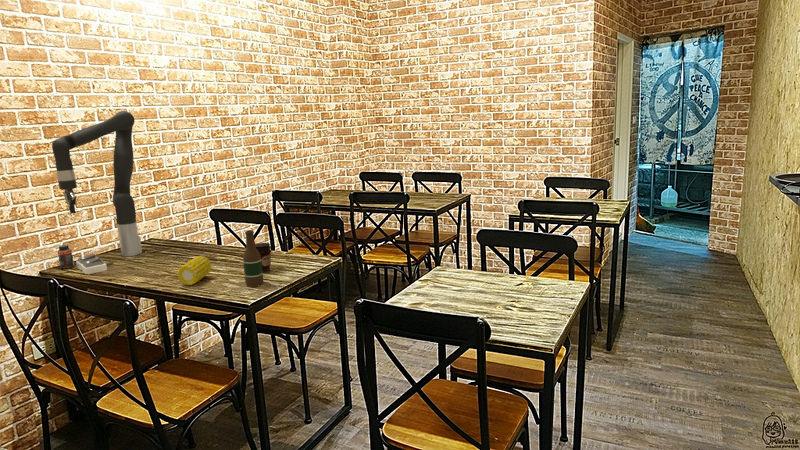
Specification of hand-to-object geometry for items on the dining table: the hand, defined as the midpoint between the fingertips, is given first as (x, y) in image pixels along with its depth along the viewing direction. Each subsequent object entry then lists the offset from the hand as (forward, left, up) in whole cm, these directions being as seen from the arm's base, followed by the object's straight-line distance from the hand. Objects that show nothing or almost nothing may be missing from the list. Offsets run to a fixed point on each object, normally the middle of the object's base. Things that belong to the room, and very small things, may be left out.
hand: (72, 213), depth 268 cm
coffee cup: (-56, +87, -26) cm, 107 cm away
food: (-28, +76, -26) cm, 85 cm away
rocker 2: (0, +22, -21) cm, 31 cm away
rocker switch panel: (-3, +18, -26) cm, 31 cm away
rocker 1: (0, +13, -21) cm, 25 cm away
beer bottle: (-44, +100, -26) cm, 112 cm away
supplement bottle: (+8, +6, -26) cm, 28 cm away
